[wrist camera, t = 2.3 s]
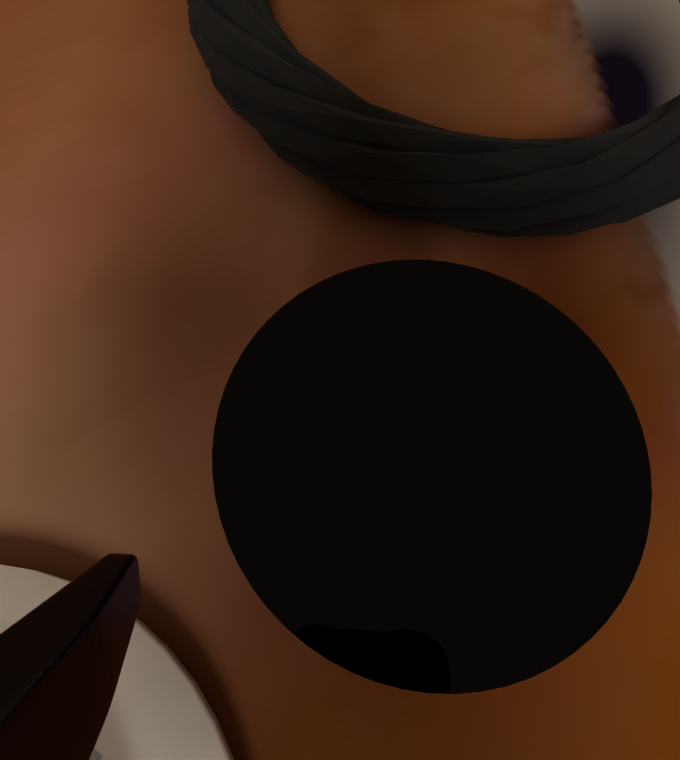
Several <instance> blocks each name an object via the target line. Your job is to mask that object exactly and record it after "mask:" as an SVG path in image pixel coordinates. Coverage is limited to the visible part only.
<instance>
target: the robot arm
mask: <svg viewBox="0 0 680 760" xmlns="http://www.w3.org/2000/svg"><path fill="white" fill-rule="evenodd" d="M140 599H141V593H140V579H139V566H138V560H137V557H136V556H134V555H133V554H119V553H111V554H108V555H106V556H105V557H103V558H102V559H101V560H99V561H98V562H97V563H95V564H94V565H93V566H91V567H90V568H89V569H87V570H86V571H85V572H83V573H82V574H80V575H79V576H78V577H76V578H75V579H74V580H72V581H71V582H70V583H68V584H67V585H66V586H64V587H63V588H62V589H60V590H59V591H58V592H56V593H55V594H53V595H52V596H51V597H49V598H48V599H47V600H45V601H44V602H43V603H41V604H40V605H39V606H37V607H36V608H35V609H33V610H32V611H31V612H29V613H28V614H26V615H25V616H24V617H22V618H21V619H20V620H18V621H17V622H16V623H14V624H13V625H12V626H10V627H9V628H8V629H6V630H5V631H4V632H2V633H1V634H0V760H89V759H90V757H91V754H92V752H93V749H94V747H95V745H96V742H97V740H98V737H99V735H100V732H101V730H102V727H103V725H104V722H105V720H106V717H107V715H108V712H109V709H110V706H111V703H112V700H113V697H114V694H115V690H116V687H117V683H118V680H119V676H120V673H121V670H122V666H123V663H124V659H125V656H126V652H127V649H128V646H129V642H130V639H131V635H132V632H133V628H134V625H135V621H136V618H137V615H138V611H139V606H140Z"/></svg>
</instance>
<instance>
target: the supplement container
mask: <svg viewBox="0 0 680 760" xmlns="http://www.w3.org/2000/svg"><path fill="white" fill-rule="evenodd" d="M212 472H213V482H214V491H215V498H216V502H217V507H218V511H219V516H220V520H221V523H222V526H223V529H224V532H225V535H226V537H227V540H228V543H229V545H230V548H231V550H232V552H233V554H234V556H235V558H236V560H237V563H238V565H239V567H240V568H241V570H242V572H243V573H244V575H245V577H246V578H247V580H248V582H249V583H250V585H251V587H252V588H253V589H254V591H255V592H256V593H257V595H258V596H259V597H260V599H261V600H262V601H263V603H264V604H265V605H266V607H267V608H268V609H269V610H270V611H271V612H272V613H273V614H274V615H275V616H276V618H277V619H278V620H279V621H280V622H281V623H282V624H283V625H284V626H285V627H286V628H287V629H288V630H289V631H291V632H292V633H293V634H294V635H295V636H296V637H298V638H299V639H300V640H301V641H302V642H304V643H305V644H306V645H307V646H309V647H310V648H312V649H313V650H315V651H316V652H318V653H319V654H320V655H322V656H323V657H325V658H326V659H328V660H330V661H331V662H333V663H335V664H337V665H339V666H341V667H343V668H345V669H347V670H348V671H350V672H352V673H355V674H357V675H360V676H362V677H365V678H367V679H370V680H373V681H375V682H378V683H382V684H385V685H389V686H393V687H397V688H400V689H405V690H412V691H418V692H425V693H442V694H460V693H471V692H482V691H486V690H491V689H496V688H501V687H505V686H509V685H511V684H514V683H517V682H520V681H523V680H526V679H529V678H531V677H533V676H535V675H537V674H540V673H542V672H544V671H546V670H548V669H550V668H552V667H553V666H555V665H557V664H558V663H560V662H561V661H563V660H564V659H566V658H567V657H569V656H570V655H572V654H573V653H574V652H576V651H577V650H578V649H579V648H580V647H582V646H583V645H584V644H585V643H586V642H587V641H589V640H590V639H591V638H592V637H593V636H594V635H595V634H596V633H597V632H598V630H599V629H600V628H601V627H602V626H603V625H604V624H605V623H606V622H607V621H608V619H609V618H610V616H611V615H612V614H613V612H614V611H615V610H616V608H617V607H618V605H619V604H620V603H621V601H622V599H623V597H624V596H625V594H626V592H627V590H628V588H629V587H630V585H631V583H632V581H633V578H634V576H635V574H636V571H637V569H638V566H639V564H640V561H641V558H642V555H643V551H644V548H645V544H646V540H647V536H648V529H649V523H650V517H651V501H652V487H651V470H650V464H649V457H648V451H647V446H646V443H645V439H644V435H643V431H642V427H641V425H640V422H639V419H638V416H637V414H636V411H635V408H634V406H633V404H632V402H631V400H630V397H629V395H628V393H627V391H626V389H625V387H624V385H623V384H622V382H621V380H620V379H619V377H618V375H617V373H616V372H615V370H614V369H613V367H612V366H611V364H610V363H609V362H608V360H607V359H606V357H605V356H604V355H603V353H602V352H601V351H600V350H599V348H598V347H597V346H596V345H595V344H594V343H593V341H592V340H591V339H590V338H589V337H588V336H587V335H586V334H585V333H584V332H583V331H582V330H581V329H580V328H579V327H578V326H577V325H576V324H575V323H574V322H573V321H572V320H571V319H569V318H568V317H567V316H566V315H565V314H563V313H562V312H561V311H560V310H559V309H557V308H556V307H554V306H553V305H552V304H550V303H549V302H547V301H546V300H544V299H543V298H542V297H540V296H538V295H536V294H535V293H533V292H531V291H530V290H528V289H526V288H524V287H523V286H520V285H518V284H516V283H514V282H512V281H510V280H508V279H506V278H503V277H500V276H498V275H495V274H493V273H490V272H487V271H484V270H480V269H477V268H473V267H470V266H466V265H460V264H455V263H450V262H442V261H433V260H398V261H387V262H381V263H375V264H369V265H365V266H362V267H358V268H354V269H351V270H348V271H345V272H342V273H339V274H337V275H334V276H332V277H330V278H328V279H325V280H323V281H321V282H319V283H317V284H315V285H313V286H312V287H310V288H308V289H307V290H305V291H303V292H302V293H300V294H299V295H297V296H296V297H295V298H293V299H292V300H290V301H289V302H288V303H286V304H285V305H284V306H283V307H282V308H280V309H279V310H278V311H277V312H276V313H275V314H274V315H273V316H272V317H271V318H269V320H268V321H267V322H266V323H265V324H264V325H263V326H262V327H261V328H260V330H259V331H258V332H257V333H256V334H255V336H254V337H253V338H252V340H251V341H250V342H249V344H248V345H247V347H246V348H245V349H244V351H243V353H242V354H241V356H240V358H239V360H238V361H237V363H236V365H235V367H234V368H233V371H232V373H231V375H230V377H229V380H228V382H227V384H226V387H225V389H224V393H223V396H222V399H221V402H220V405H219V409H218V414H217V418H216V423H215V428H214V438H213V448H212Z"/></svg>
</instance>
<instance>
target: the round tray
mask: <svg viewBox="0 0 680 760" xmlns="http://www.w3.org/2000/svg"><path fill="white" fill-rule="evenodd" d="M70 582H71V581H70V580H67V579H63V578H60V577H57V576H54V575H51V574H48V573H45V572H42V571H37V570H31V569H25V568H19V567H13V566H7V565H1V564H0V634H1V633H2V632H4V631H5V630H6V629H8V628H9V627H10V626H12V625H13V624H14V623H16V622H17V621H18V620H20V619H21V618H22V617H24V616H25V615H26V614H28V613H29V612H31V611H32V610H33V609H35V608H36V607H37V606H39V605H40V604H41V603H43V602H44V601H45V600H47V599H48V598H49V597H51V596H52V595H53V594H55V593H56V592H58V591H59V590H60V589H62V588H63V587H64V586H66V585H67V584H68V583H70ZM89 760H234V758H233V756H232V753H231V751H230V748H229V746H228V744H227V741H226V739H225V736H224V734H223V732H222V729H221V727H220V724H219V722H218V719H217V718H216V716H215V714H214V712H213V711H212V709H211V707H210V705H209V704H208V702H207V700H206V698H205V697H204V695H203V693H202V692H201V690H200V688H199V686H198V685H197V683H196V681H195V680H194V679H193V677H192V676H191V675H190V673H189V672H188V671H187V670H186V668H185V667H184V666H183V664H182V663H181V662H180V661H179V659H178V658H177V657H176V655H175V654H174V653H173V652H172V650H171V649H170V648H169V647H168V646H167V645H166V644H165V643H164V642H163V641H162V640H161V639H160V638H158V637H157V636H156V635H155V634H154V633H153V632H152V631H151V630H150V629H149V628H148V627H147V626H146V625H145V624H144V623H143V622H142V621H140V620H139V619H137V618H136V621H135V625H134V628H133V632H132V635H131V639H130V642H129V646H128V649H127V652H126V656H125V659H124V663H123V666H122V670H121V673H120V676H119V680H118V683H117V687H116V690H115V694H114V697H113V700H112V703H111V706H110V709H109V712H108V715H107V717H106V720H105V722H104V725H103V727H102V730H101V732H100V735H99V737H98V740H97V742H96V745H95V747H94V749H93V752H92V754H91V757H90V759H89Z"/></svg>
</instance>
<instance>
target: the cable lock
mask: <svg viewBox="0 0 680 760" xmlns="http://www.w3.org/2000/svg"><path fill="white" fill-rule="evenodd" d="M679 2H680V0H679ZM187 3H188V5H189V9H188V15H189V23H190V31H191V34H192V37H193V39H194V41H195V43H196V45H197V47H198V49H199V51H200V54H201V56H202V58H203V60H204V62H205V64H206V66H207V68H208V69H210V73H211V77H212V81H213V85H214V86H215V88H216V89H217V90H218V91H219V93H220V94H221V95H222V97H223V98H224V99H225V101H226V102H227V103H228V105H229V106H230V107H231V108H232V110H233V111H235V112H236V113H237V114H238V115H239V116H241V117H242V118H243V119H244V120H246V121H247V122H248V123H249V124H250V125H252V126H253V127H254V128H255V129H256V130H257V131H258V132H259V133H260V134H261V136H262V137H263V138H264V139H265V141H266V142H267V143H268V144H269V146H270V147H271V148H272V149H273V151H274V152H275V153H276V154H277V156H279V157H280V158H282V159H283V160H285V161H286V162H288V163H289V164H291V165H292V166H294V167H295V168H297V169H298V170H300V171H301V172H302V173H304V174H305V175H307V176H310V177H312V178H315V179H317V180H320V181H322V182H325V183H327V184H329V185H331V186H332V187H334V188H336V189H338V190H339V191H341V192H343V193H344V194H346V195H348V196H350V197H351V198H353V199H355V200H357V201H358V202H360V203H362V204H364V205H365V206H367V207H369V208H371V209H373V210H378V211H383V212H387V213H392V214H397V215H401V216H406V217H411V218H415V219H420V220H424V221H429V222H434V223H439V224H443V225H446V226H449V227H453V228H457V229H461V230H466V231H471V232H477V233H483V234H489V235H495V236H501V237H503V236H543V235H571V234H574V233H578V232H581V231H585V230H589V229H592V228H596V227H599V226H603V225H607V224H610V223H621V222H626V221H628V220H631V219H633V218H635V217H637V216H640V215H642V214H644V213H647V212H649V211H651V210H654V209H656V208H658V207H661V206H663V205H665V204H667V203H670V202H672V201H674V200H677V199H679V198H680V95H679V96H677V97H675V98H673V99H672V100H670V101H668V102H667V103H665V104H663V105H662V106H660V107H658V108H656V109H655V110H653V111H651V112H650V113H648V114H646V115H645V116H643V117H641V118H639V119H638V120H636V121H634V122H632V123H630V124H627V125H624V126H621V127H618V128H615V129H612V130H609V131H606V132H604V133H601V134H598V135H595V136H592V137H589V138H561V139H527V140H514V139H506V138H497V137H488V136H480V135H473V134H467V133H461V132H455V131H449V130H446V129H442V128H439V127H435V126H432V125H429V124H426V123H423V122H421V121H418V120H415V119H412V118H409V117H406V116H404V115H401V114H398V113H395V112H392V111H389V110H387V109H384V108H381V107H378V106H375V105H372V104H370V103H368V102H366V101H365V100H364V99H362V98H361V97H360V96H358V95H357V94H355V93H354V92H353V91H351V90H350V89H348V88H347V87H346V86H344V85H343V84H342V83H340V82H339V81H337V80H336V79H335V78H333V77H332V76H331V75H329V74H328V73H326V72H325V71H324V70H322V69H321V68H319V67H318V66H317V65H315V64H314V63H313V62H311V61H310V60H308V59H307V58H306V57H304V56H303V55H302V54H300V53H299V52H298V51H297V50H296V48H295V47H294V46H293V44H292V43H291V41H290V40H289V39H288V37H287V36H286V35H285V33H284V32H283V30H282V29H281V28H280V26H279V25H278V24H277V22H276V21H275V20H274V17H273V14H272V11H271V7H270V4H269V1H268V0H187Z"/></svg>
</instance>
